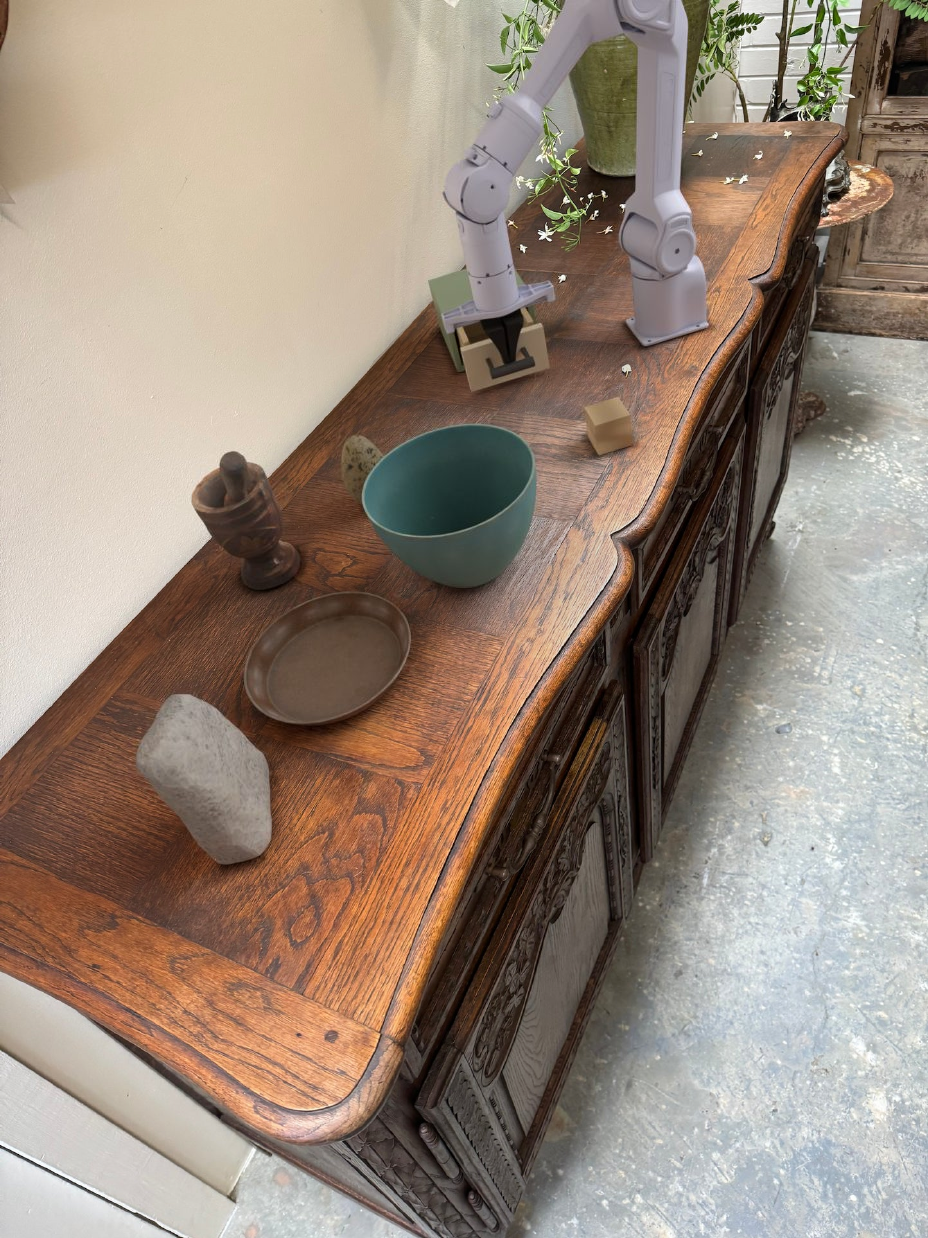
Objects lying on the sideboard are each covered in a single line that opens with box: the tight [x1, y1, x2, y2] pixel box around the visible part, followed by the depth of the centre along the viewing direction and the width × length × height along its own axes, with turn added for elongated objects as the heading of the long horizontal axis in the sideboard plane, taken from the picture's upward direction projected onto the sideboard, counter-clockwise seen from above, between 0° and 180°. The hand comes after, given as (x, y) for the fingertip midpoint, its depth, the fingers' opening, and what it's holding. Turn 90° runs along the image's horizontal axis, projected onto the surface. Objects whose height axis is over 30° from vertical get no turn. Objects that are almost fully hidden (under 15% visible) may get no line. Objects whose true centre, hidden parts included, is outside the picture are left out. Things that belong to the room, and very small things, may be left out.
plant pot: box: [362, 423, 538, 589], centre depth 90 cm, size 18×18×12 cm
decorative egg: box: [340, 434, 385, 507], centre depth 102 cm, size 6×6×10 cm
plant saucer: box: [243, 591, 412, 726], centre depth 86 cm, size 18×18×3 cm
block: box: [583, 396, 634, 456], centre depth 102 cm, size 4×4×4 cm
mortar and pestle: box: [191, 450, 301, 591], centre depth 93 cm, size 12×9×20 cm
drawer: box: [454, 307, 550, 393], centre depth 117 cm, size 18×11×6 cm, turn 12°
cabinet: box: [427, 267, 537, 373], centre depth 125 cm, size 15×13×8 cm
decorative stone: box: [135, 693, 273, 865], centre depth 72 cm, size 11×6×15 cm, turn 5°
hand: (509, 364), depth 113 cm, fingers closed, pressing on drawer
